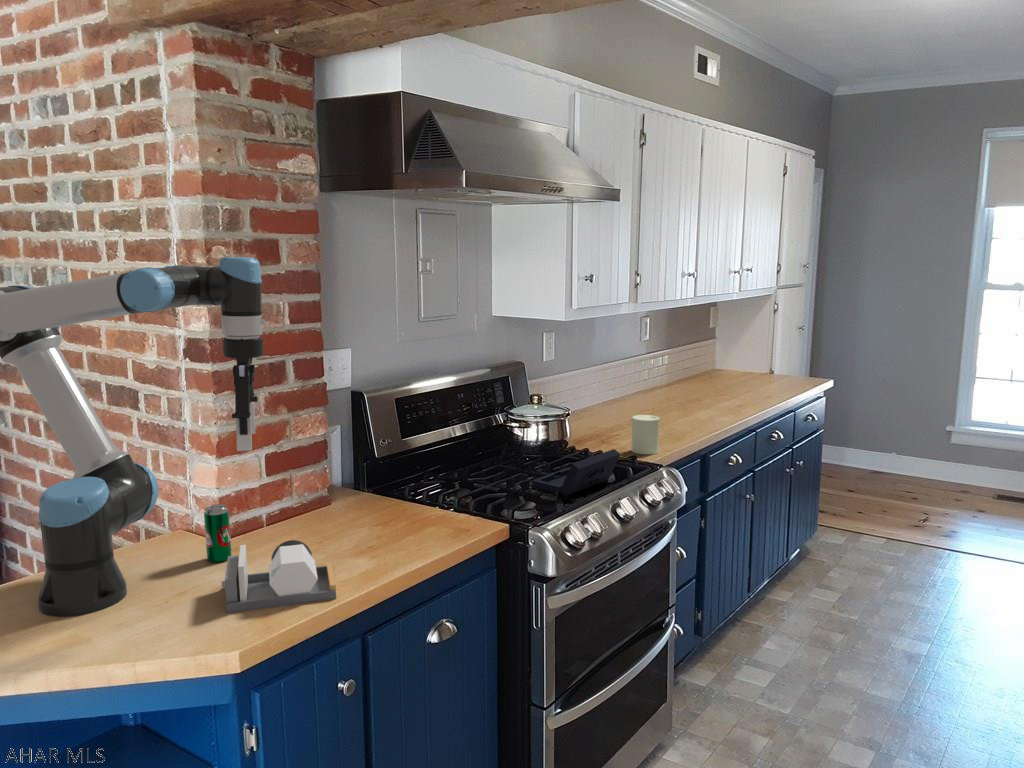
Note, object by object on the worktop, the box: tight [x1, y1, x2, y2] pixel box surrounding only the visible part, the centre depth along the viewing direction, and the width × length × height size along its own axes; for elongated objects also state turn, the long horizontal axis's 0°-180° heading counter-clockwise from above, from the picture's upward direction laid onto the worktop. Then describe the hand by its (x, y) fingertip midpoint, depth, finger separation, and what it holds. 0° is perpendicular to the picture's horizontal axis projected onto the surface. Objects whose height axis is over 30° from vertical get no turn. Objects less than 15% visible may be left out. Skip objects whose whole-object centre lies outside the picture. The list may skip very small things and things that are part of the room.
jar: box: [268, 539, 318, 597], centre depth 156 cm, size 9×8×12 cm
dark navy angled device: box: [531, 448, 621, 497], centre depth 227 cm, size 21×16×10 cm
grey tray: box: [224, 555, 337, 614], centre depth 156 cm, size 20×13×7 cm, turn 107°
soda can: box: [203, 503, 233, 564], centre depth 173 cm, size 5×5×12 cm
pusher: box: [221, 544, 248, 601], centre depth 153 cm, size 4×11×8 cm, turn 17°
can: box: [630, 414, 661, 456], centre depth 264 cm, size 9×9×12 cm
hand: (246, 441), depth 159 cm, fingers open, 13 cm apart
